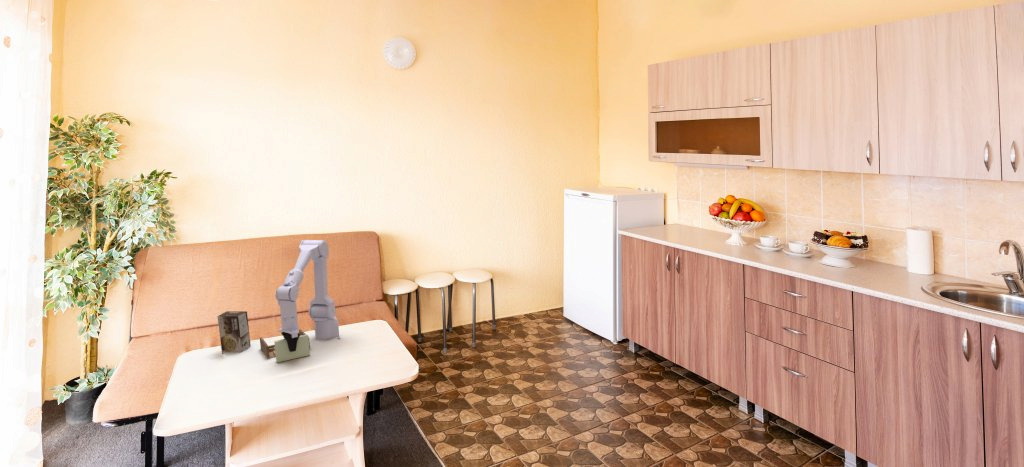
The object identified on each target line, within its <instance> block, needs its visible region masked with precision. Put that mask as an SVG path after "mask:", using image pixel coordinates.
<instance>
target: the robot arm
mask: <svg viewBox="0 0 1024 467" xmlns="http://www.w3.org/2000/svg"><path fill="white" fill-rule="evenodd" d="M298 251H299V255H298V257H297V260H296V262H295V265H294V268H292V269H290V270H289V271H288V273H287V276H286V277H285V279H284V280H283V283H282V285H280V286H279V287H277V288H276V291H275V299H276V300H277V304H278V306H279V309H280V310H279V311H280V321H281V327H280V328H278V332H281V335H282V337H283V339H286V341H287V344H288V348H289V351H290V352H293V351H296V347H297V341H298V338H299V336H300V333H299V328H300V326H299V324H298V323H299V322H298V310H297V300H298V298H299V294H300V285H301V283H302V281H303V280H304V277H305V275H304V271H305V269H306V268H307V266H308V264H309V262H310V261H313V273H314V274H313V278H314V298H313V299H311V300H310V301H309V307H308V316H309V318H311V320H312V321H313V323H314V324H313V325H314V326H313V327H314V336H315V339H316V340H319V341H323V340H330V339H333V338H336V339H341V337H340V330H339V327H340V326H339V320H338V317H336V312H337V310H336V309H337V308H336V306H335V300H334V299H332V298H331V297H330V296H329V295H328V293H329V292H328V265H327V264H328V263H327V259H329V244H328V242H327V241H326V240H325V239H302V240H301V241H300V243H299V246H298Z"/></svg>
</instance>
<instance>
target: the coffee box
mask: <svg viewBox="0 0 1024 467" xmlns="http://www.w3.org/2000/svg"><path fill="white" fill-rule="evenodd" d="M217 323H218V324H217V325H218V331H219V340H220V348H221V354H222V355H223V354H224V353H243V352H244V351H247V350H248V349H250V348H251V347H252V346H251V345H252V344H251V336H250V328H249V327H250V326H249V317H248V311H243V310H242V311H234V310H233V311H229V310H228V311H227V310H226V311H224V312H223V313H221V314H219V315H218V316H217Z"/></svg>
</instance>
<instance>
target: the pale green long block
mask: <svg viewBox="0 0 1024 467" xmlns="http://www.w3.org/2000/svg"><path fill="white" fill-rule="evenodd" d="M305 334H306V335H301V336H299V338H298V341H297V347H296V351H293V352H290V351H289V348H288V344H287V341H286V339H284V338H282V339H277V340H274V345H275V354H276V357H275V361H276V363H280V362H284V361H285V362H286V361H289V360H294V359H299V358H303V357H307V356H310V355H311V351H310V350H311V348H310V349H309V342H310V337H309V334H308V333H305Z"/></svg>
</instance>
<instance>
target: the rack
mask: <svg viewBox="0 0 1024 467" xmlns="http://www.w3.org/2000/svg"><path fill="white" fill-rule="evenodd" d="M298 333H300V336H301V335H306V334H307V333H305V332H304V331H303V330H302V329H301V328H300V329H298ZM259 344H260V345H259V346H260V350H261V352H262V353H263V355H264V356H265V359H266V360H271V359H274V358H275V359H276V357H275V356H274V354H273V351H274V348H275V344H271V345H268V344H267V342H266V341H265V339H264V338H263V337H262V336H260V337H259ZM309 349H310V350H311V344H310V341H309Z"/></svg>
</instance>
